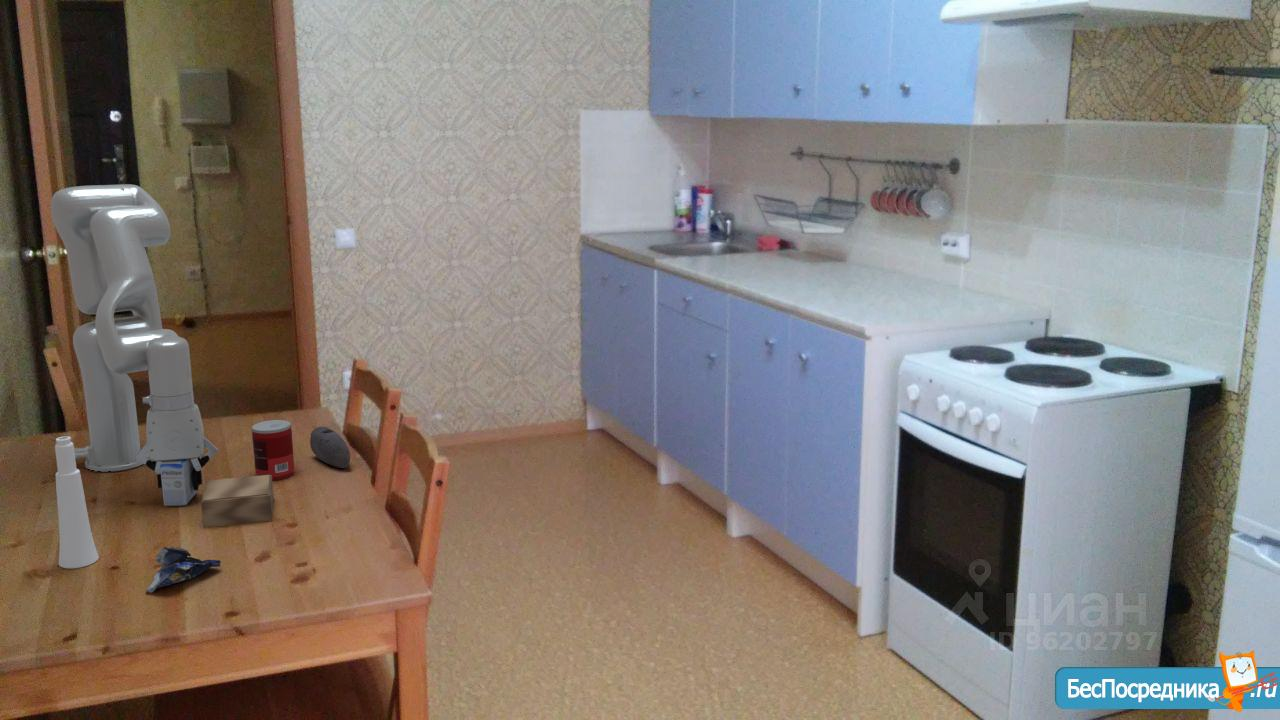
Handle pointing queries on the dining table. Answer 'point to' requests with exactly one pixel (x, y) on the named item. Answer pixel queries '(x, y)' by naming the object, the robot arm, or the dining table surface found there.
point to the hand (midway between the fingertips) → (180, 488)
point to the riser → (237, 501)
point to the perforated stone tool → (330, 447)
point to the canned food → (273, 449)
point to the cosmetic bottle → (72, 511)
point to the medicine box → (177, 482)
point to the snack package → (178, 567)
